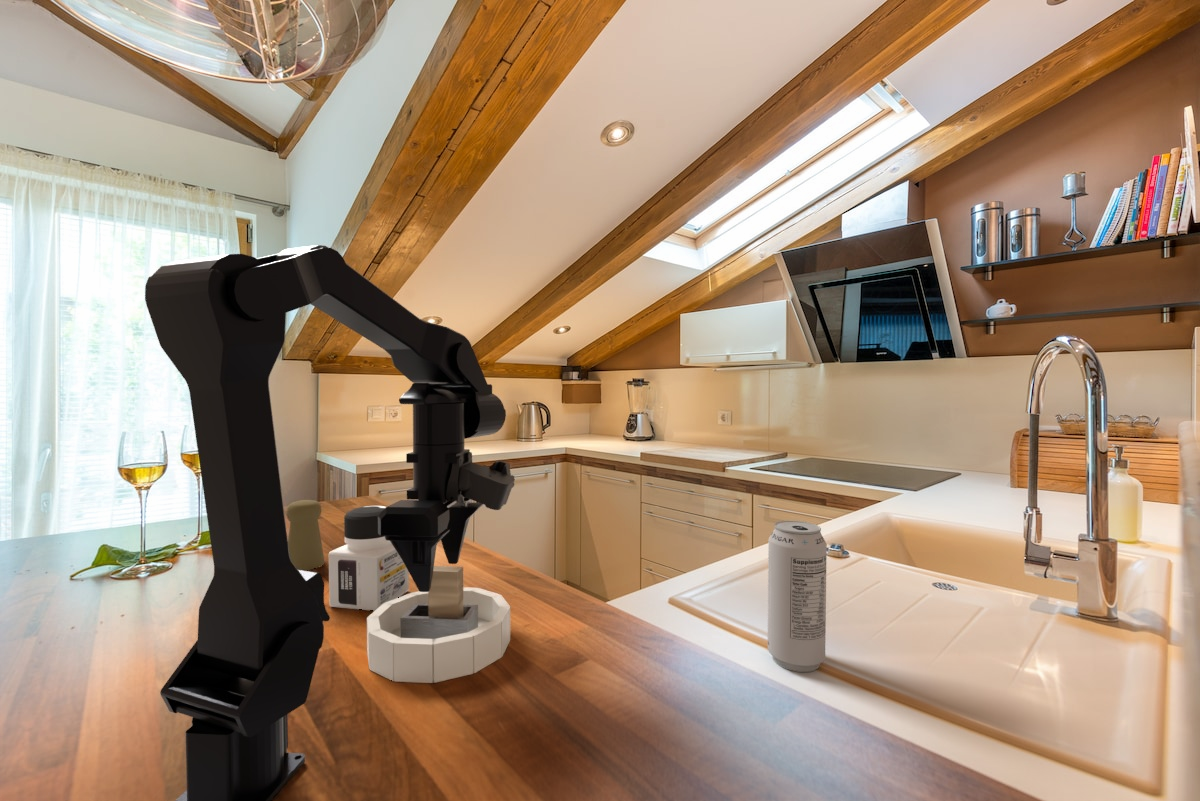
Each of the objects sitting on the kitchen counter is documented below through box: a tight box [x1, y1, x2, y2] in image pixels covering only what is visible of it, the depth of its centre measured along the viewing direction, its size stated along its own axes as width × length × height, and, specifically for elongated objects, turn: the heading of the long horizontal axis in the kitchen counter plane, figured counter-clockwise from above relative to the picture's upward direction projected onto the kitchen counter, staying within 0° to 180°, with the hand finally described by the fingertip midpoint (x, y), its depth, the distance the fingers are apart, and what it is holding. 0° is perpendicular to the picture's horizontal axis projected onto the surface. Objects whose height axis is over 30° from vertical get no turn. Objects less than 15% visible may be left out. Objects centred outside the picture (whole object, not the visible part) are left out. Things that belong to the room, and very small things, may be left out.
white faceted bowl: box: [366, 586, 511, 684], centre depth 64 cm, size 16×16×4 cm
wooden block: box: [428, 565, 464, 618], centre depth 63 cm, size 2×4×8 cm, turn 83°
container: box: [328, 505, 410, 612], centre depth 77 cm, size 8×8×13 cm
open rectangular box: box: [400, 603, 478, 639], centre depth 64 cm, size 5×8×3 cm, turn 86°
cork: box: [285, 499, 326, 571], centre depth 92 cm, size 6×6×11 cm
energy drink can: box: [767, 520, 828, 673], centre depth 60 cm, size 6×6×15 cm
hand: (440, 576), depth 63 cm, fingers open, 9 cm apart
